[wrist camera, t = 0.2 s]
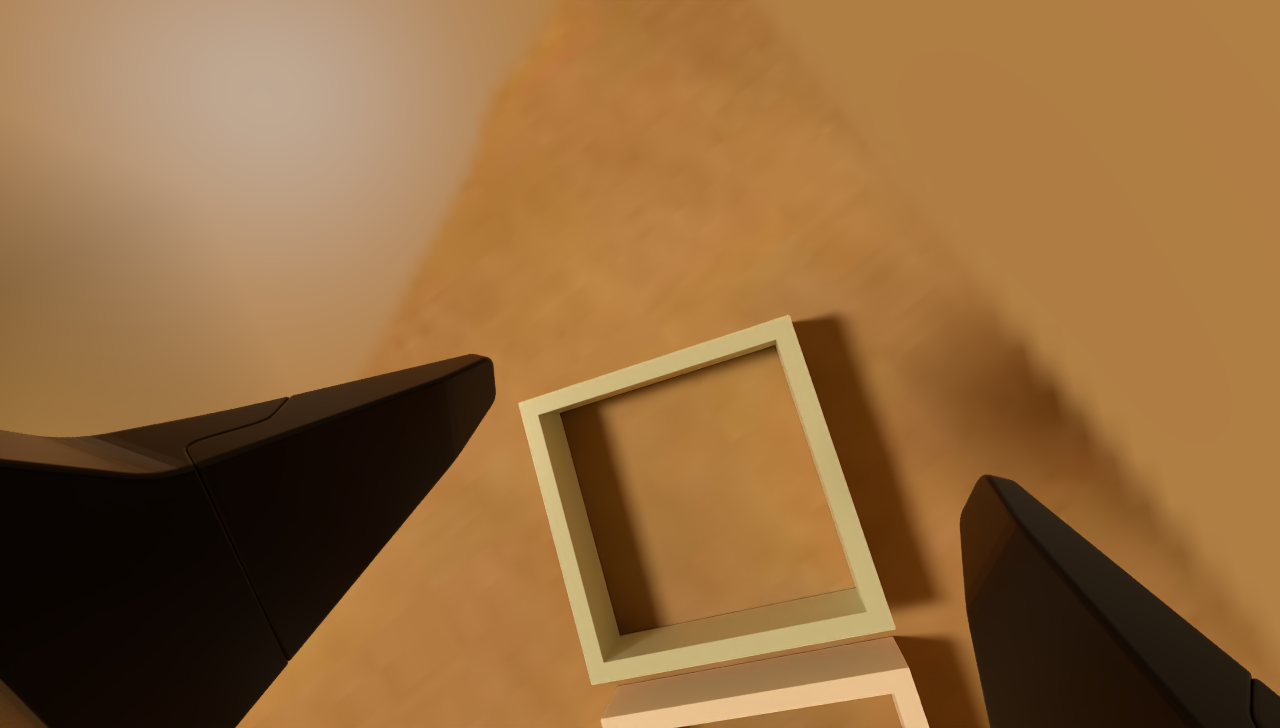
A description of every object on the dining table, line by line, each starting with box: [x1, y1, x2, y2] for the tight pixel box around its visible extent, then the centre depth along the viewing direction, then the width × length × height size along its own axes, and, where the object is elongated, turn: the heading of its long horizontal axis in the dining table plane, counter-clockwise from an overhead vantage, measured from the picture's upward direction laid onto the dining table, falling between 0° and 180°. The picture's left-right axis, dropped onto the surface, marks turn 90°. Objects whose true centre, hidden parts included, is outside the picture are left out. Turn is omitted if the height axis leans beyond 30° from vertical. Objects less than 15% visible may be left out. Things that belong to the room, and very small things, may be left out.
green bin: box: [518, 315, 896, 685], centre depth 22 cm, size 13×13×2 cm
